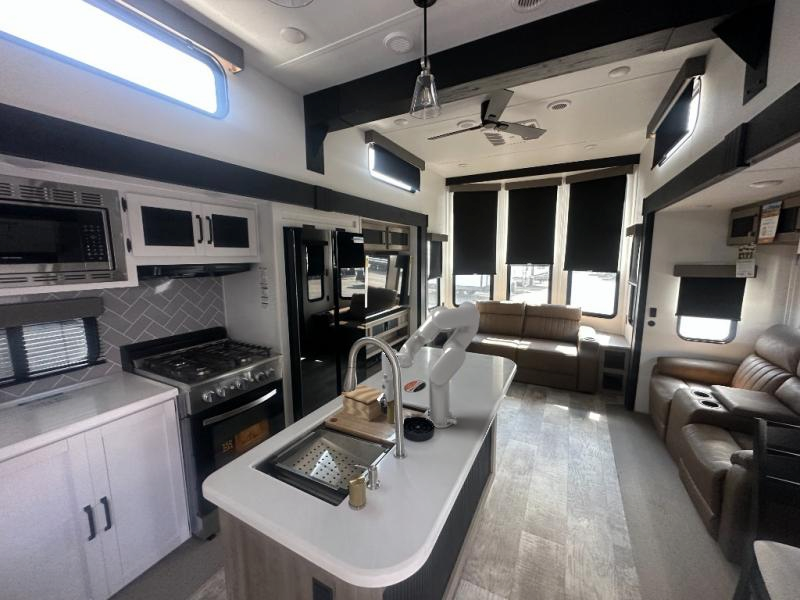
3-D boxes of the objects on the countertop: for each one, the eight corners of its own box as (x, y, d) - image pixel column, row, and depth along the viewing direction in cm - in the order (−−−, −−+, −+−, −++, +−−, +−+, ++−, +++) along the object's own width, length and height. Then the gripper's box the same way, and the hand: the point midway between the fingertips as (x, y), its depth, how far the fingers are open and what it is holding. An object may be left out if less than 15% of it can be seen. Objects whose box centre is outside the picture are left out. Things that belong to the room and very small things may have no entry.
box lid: (387, 394, 158) (387, 392, 158) (368, 403, 147) (368, 401, 147) (361, 386, 169) (361, 384, 169) (341, 394, 158) (341, 392, 158)
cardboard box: (387, 409, 160) (386, 394, 158) (369, 421, 149) (368, 406, 147) (362, 400, 171) (361, 386, 169) (343, 411, 160) (342, 396, 158)
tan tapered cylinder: (391, 425, 145) (390, 403, 143) (384, 420, 150) (383, 398, 148) (401, 421, 148) (400, 399, 146) (394, 415, 153) (393, 395, 151)
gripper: (384, 383, 136) (385, 419, 139) (407, 371, 150) (407, 404, 153) (371, 379, 141) (372, 414, 143) (395, 367, 154) (395, 399, 157)
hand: (390, 409), depth 148 cm, fingers open, 9 cm apart
